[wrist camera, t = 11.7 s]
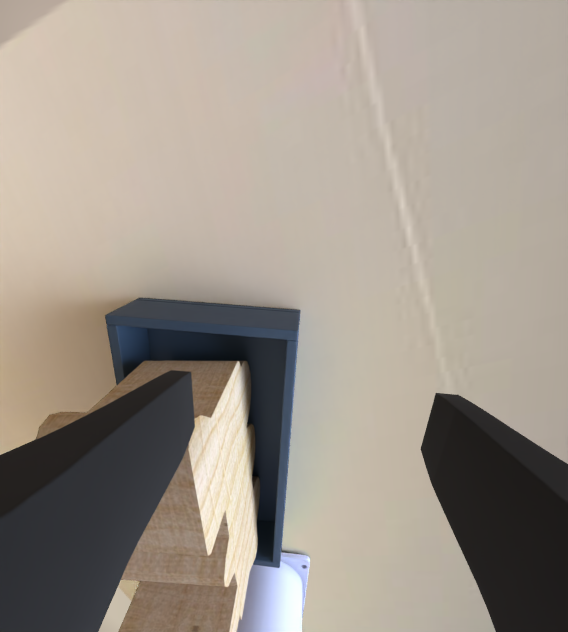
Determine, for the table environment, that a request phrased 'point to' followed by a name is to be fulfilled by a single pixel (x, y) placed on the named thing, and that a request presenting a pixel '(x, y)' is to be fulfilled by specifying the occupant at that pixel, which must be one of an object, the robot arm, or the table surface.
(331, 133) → the table surface
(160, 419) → the robot arm
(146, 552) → the toy train
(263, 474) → the open box
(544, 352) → the table surface
